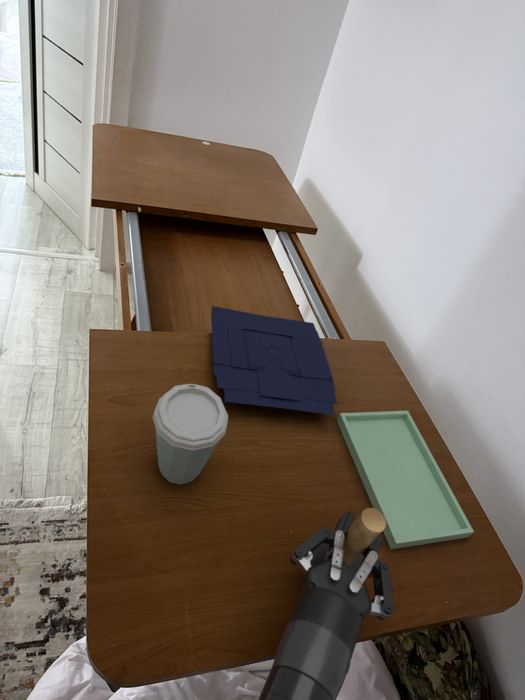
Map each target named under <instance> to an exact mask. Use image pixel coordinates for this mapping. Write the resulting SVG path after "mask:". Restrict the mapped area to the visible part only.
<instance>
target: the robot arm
mask: <svg viewBox="0 0 525 700" xmlns="http://www.w3.org/2000/svg"><path fill="white" fill-rule="evenodd" d="M355 516H356V513H355V512H354V511H352V510H350V511H348V513H347V512H344V513H343V514H341V516H340V517H339V519H338V521H337V523H336V525H335V528H334V530H331V529H330V528H329V527H327V526H323V527H321V528H320V529H319V530H317V531H316V532H314V534H313V535H311V536H310V537H309V538H307V539H306V540H305V541H304V542H302V543H301V544H299V545H298V546H297V547H296V548H295V549H294V551H293V552H292V553H291V555H290V556H289V563H290V564H291V565H293V566H296V565H297V566H298V567H299V569H300V570H301V571H302V573H303V587H302V590H301V592H300V595H299V597H298V599H297V602H296V604H295V606H294V608H293V610H292V613H291V615H290V618H289V620H288V623H287V625H286V627H285V629H284V632H283V634H282V636H281V639H280V641H279V643H278V646H277V649H276V651H275V656H274V659H273V663H272V666H271V668H270V670H269V673H268V675H267V678H266V679H265V682H264V684H263V687H262V689H261V691H260V694H259V696H258V699H257V700H337V698H338V696H339V694H340V692H341V690H342V688H343V685H344V683H345V680H346V677H347V674H349V671H350V667H351V661H352V658H353V654H354V652H355V649H356V645H357V642H358V640H359V635H360V632H361V631H362V626H363V623H364V620H365V619H366V617H367V616H369V615H371V616H376V617H377V619H378V620H380V621H384V620H386V619H387V618H388V617H390V616H392V614H394V612H395V603H394V593H393V585H392V576H391V568H390V564H388V563H386V562H383V561H382V560H381V559H380V557H379V551H380V548H381V546H382V542H383V539H384V538H383V536H384V535H383V533H382V532H381V533H380V534H379V536H378V537H377V538H376V539H375V540H374V541H373V542H372V543H371V544H370V545H369V546H368V548H367V549H366V550H365V551H364V552H363V554H362V555H363V556H364V557H363V560H362V561H361V563H360V564H359V566H358V567H357V568H355V567H352V566H349V565H348V564H347V563H346V562H345V561H344V560H342V558H343V552H344V549H343V544H344V538H345V536H346V535H347V533H348V530H349V528H350V526H351V525H352V524H353V522H354V521H353V520H354V518H355ZM323 543H325V544H329V545H328V551H327V554H326V557H325V561H323V562H320V563H318V564H316V565H314V566H311V563H310V562H311V559H312V558H313V554H312V552H313V551H314V550H315V549H317V548H318V547H319V546H320V545H322V544H323ZM370 571H371V572H372V573H373V577H372V582H373V583H372V585H373V593H374V594H373V595H374V597H373V598H371V597H370V594H369V591H368V588H367V584H366V579H368V578H367V576H368V575H369V573H370ZM371 599H372V600H371Z"/></svg>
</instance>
